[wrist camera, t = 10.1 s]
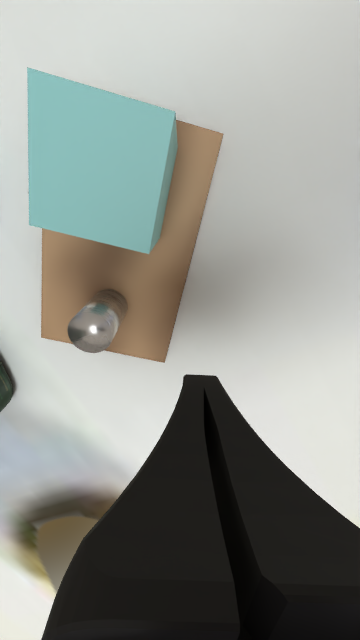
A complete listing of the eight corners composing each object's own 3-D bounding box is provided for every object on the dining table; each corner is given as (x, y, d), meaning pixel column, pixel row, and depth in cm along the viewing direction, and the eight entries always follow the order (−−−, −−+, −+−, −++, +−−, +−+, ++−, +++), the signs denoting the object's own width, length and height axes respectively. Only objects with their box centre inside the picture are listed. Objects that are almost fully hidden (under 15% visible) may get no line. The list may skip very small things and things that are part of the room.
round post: (130, 293, 18) (115, 318, 14) (125, 324, 19) (109, 356, 15) (94, 285, 18) (68, 308, 14) (91, 317, 19) (66, 347, 15)
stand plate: (221, 137, 15) (223, 133, 14) (165, 357, 21) (164, 362, 21) (50, 87, 14) (43, 80, 13) (46, 332, 21) (41, 337, 20)
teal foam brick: (177, 147, 14) (175, 111, 9) (159, 238, 17) (149, 254, 11) (87, 121, 14) (27, 67, 9) (80, 218, 16) (29, 225, 11)
